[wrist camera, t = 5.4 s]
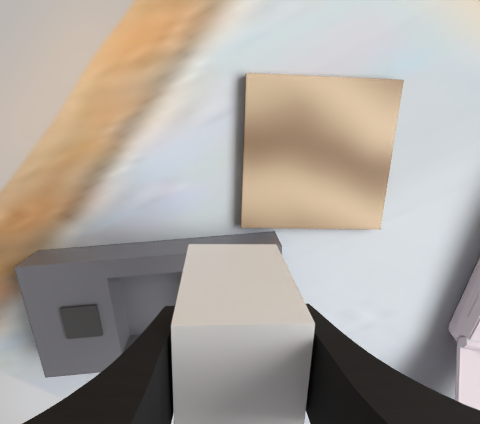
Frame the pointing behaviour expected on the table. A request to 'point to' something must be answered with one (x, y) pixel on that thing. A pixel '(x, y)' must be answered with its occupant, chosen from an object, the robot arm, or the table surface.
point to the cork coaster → (317, 150)
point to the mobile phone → (468, 342)
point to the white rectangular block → (239, 338)
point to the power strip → (104, 296)
